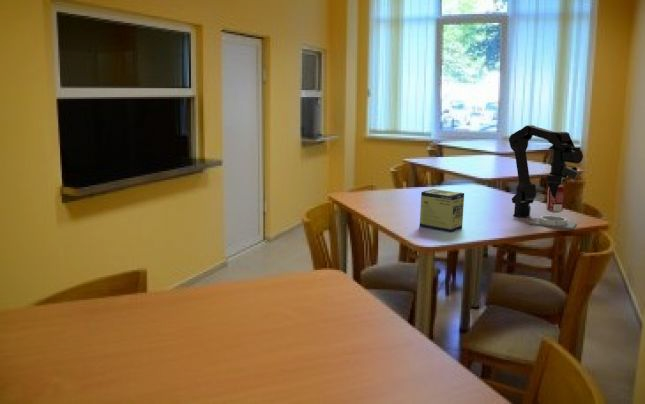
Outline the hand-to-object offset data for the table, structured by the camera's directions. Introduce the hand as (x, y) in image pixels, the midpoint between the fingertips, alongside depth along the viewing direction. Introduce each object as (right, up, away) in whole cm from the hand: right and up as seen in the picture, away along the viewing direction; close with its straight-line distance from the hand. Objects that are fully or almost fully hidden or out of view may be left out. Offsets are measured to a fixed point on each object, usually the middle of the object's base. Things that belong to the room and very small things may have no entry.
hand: (555, 195), depth 259 cm
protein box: (-52, -14, -6) cm, 54 cm away
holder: (0, -13, +2) cm, 13 cm away
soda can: (0, -7, +1) cm, 7 cm away
